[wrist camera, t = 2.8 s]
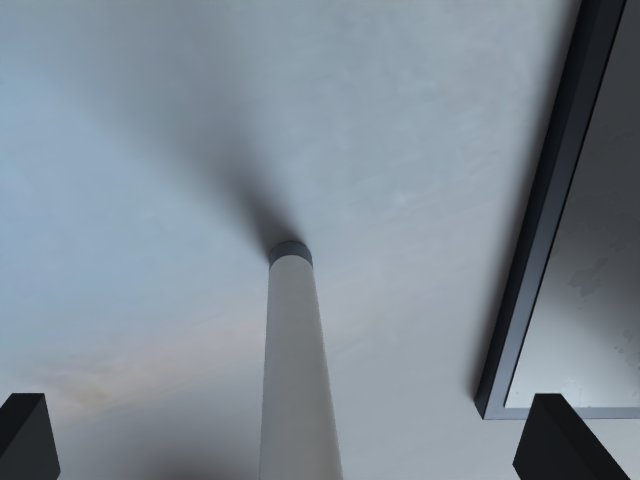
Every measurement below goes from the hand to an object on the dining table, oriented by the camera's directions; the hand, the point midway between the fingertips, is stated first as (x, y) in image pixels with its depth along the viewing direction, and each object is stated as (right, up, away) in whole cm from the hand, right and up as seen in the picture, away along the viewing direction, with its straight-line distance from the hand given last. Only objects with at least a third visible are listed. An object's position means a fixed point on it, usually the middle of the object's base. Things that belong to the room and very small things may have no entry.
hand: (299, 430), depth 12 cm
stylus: (-1, +4, +9) cm, 10 cm away
